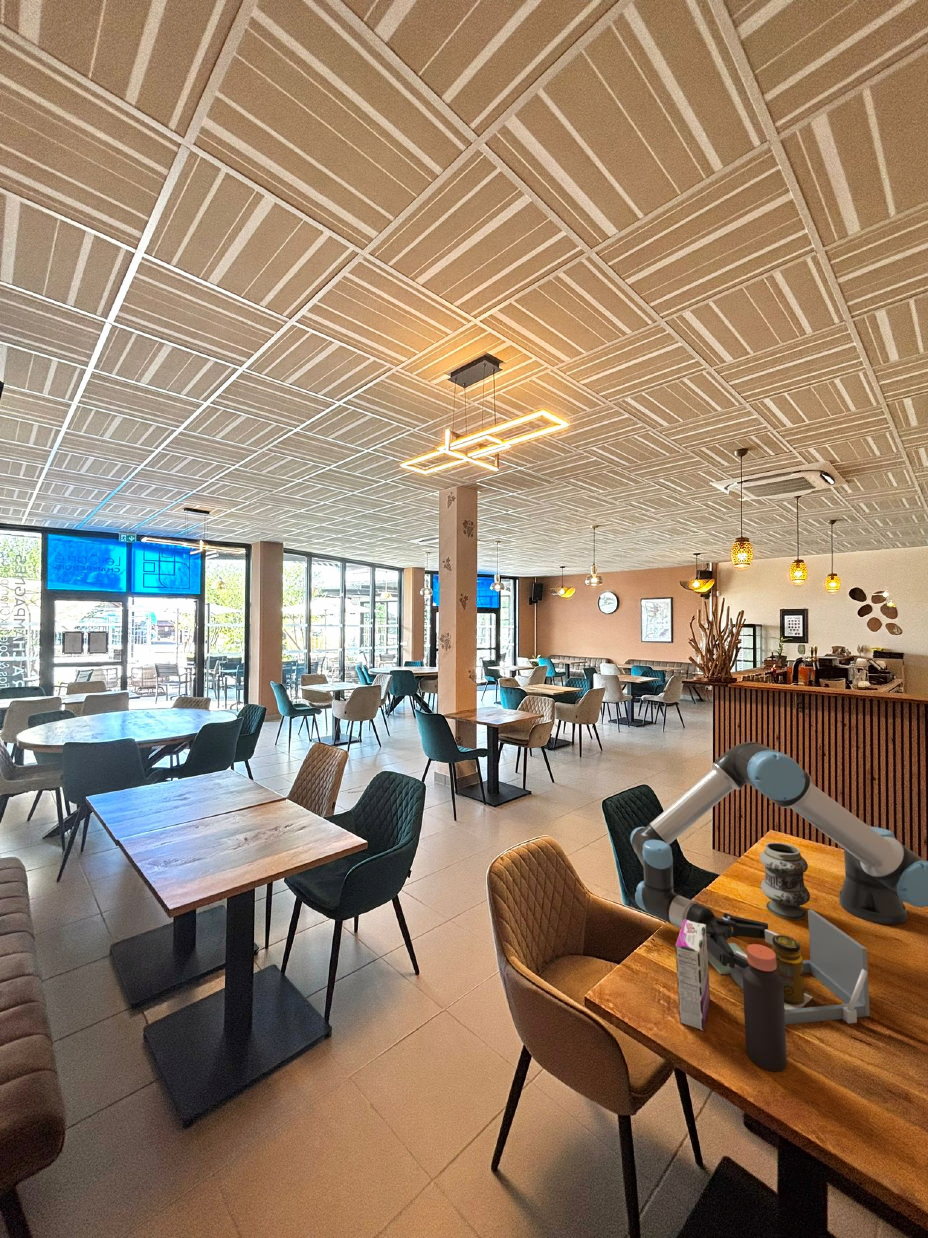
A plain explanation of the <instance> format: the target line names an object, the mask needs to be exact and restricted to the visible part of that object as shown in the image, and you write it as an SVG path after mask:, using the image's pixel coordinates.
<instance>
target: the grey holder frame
mask: <svg viewBox="0 0 928 1238" xmlns="http://www.w3.org/2000/svg"><path fill="white" fill-rule="evenodd" d="M807 917H808V921H807V923H808V939H809V957H810V959H802V960H803V974H807V973H809V974H811V975H812V976H813V977H814V978H816V979H817V980H818V981H819V982H820V983H821V984H822V985H824V987H826V988H827V989H828V990H829V991H830V992H831V993H833V994H834V995H835V996H836V997H837V998H838V999H839V1000H841V1001H842V1003H843V1004H831V1005H821V1006H811V1007H810V1006H809V1007H802V1008H799V1009H789V1010H786V1009H784V1012H785V1026H787V1025H793V1024H795V1025H796V1024H804V1023H814V1022H823V1021H835V1020H843V1021H844V1022H846V1023H847V1024H857V1023H858V1018H862V1017H870V1016H871V1011H870V1009H871V1008H870V995H869V992H870V991H869V971H868V953H867V950H868V949H867V947H865V946H864V945H862V944H861V943H859V942H858V941H856V939H854V938H852V937H851V936H850V935H848V934H847V933H845V931H843V930H841V929H840V928H838V926H836V925H834V924H833V923H831V922H830V921H828V920H827V919H826V918H825V917H823V916H821V915H820V914H819V913H817V912H816V911H814V910H813V909H807ZM743 971H744V969H743V968H741V967H740V966H737V967H735V968H731V974H730V977H731V978H732V979H733V981H734V982H735V983H736V984H737V985H738V986H739V987H740V988H741V990H743V975H742V973H743Z"/></svg>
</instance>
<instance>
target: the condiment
mask: <svg viewBox="0 0 928 1238" xmlns="http://www.w3.org/2000/svg"><path fill="white" fill-rule="evenodd" d="M772 942H773V944H772V945H771V948H770V949H771V950H772V951H774V953H775V954H776V965H777V967H776V972H775V973H776V974H777V975H778V976H779V977H780V979H781V980H782V983H783V991H784V1010H789V1009H799V1008H804V1006H806V1005H807V1003H809V1002H810V1001H811V1000H812V998H813V996H812V995H809V994H807V993H805V985H804V984H805V983H804V973H803V960H804V959H803V956H802V953H801V945H800V943H799V941H797V940H796V939H794V938H793V937H790V936H789V935H785V934H778V935H776V936H774V937H773V939H772Z"/></svg>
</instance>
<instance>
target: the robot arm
mask: <svg viewBox="0 0 928 1238" xmlns="http://www.w3.org/2000/svg"><path fill="white" fill-rule="evenodd" d="M711 764H712V768H711V769H710V770H709V771H708V772H707V773H705V775H703V776H702V777H701V778H700V779H699V780H698V781H696V782H695V783H694V784H693V785H692V786H691V787H690V788H689V789H687V790H686V791H685V792H684V793H683V794H682V795H681V796H680V797H678V798H677V799H676V800H675V801H674V802H673V803H672V804H670V805H669V806H668V807H667V808H666V809H665V810H664V811H663V812H662V813H660V814H659V815H658V816H657V817H655V819H653V820H652V821H651V822H650V823H649V824H647V826H639V827H636V828H635V829H633V830H632V831H631V834H630V837H629V838H630V840H629V841H630V843H631V846H632V849H633V851H634V853H635V854H636V856H637V858H638V860H639V861H640V864H641V866H642V868H643V880H642V881H640V882H639V883H638V884H637V887H636V892H635V894H634V897H635V898H634V900H635V903H636V904H637V906H638V907H639V908H640V909H642V910H644V911H645V912H646V913H648V914H649V915H650V916H654V917H657V918H658V919H660V920H662V921H664V922H667V923H668V924H670V925H673V926H674V927H677V928H679V929H680V930H681V927H682V923H683V920H684V919H685V920H690V921H694V922H697V923H701V924H705V925H706V937H707V950H708V951H709V952H710V953H711V954H712V955H713V956H714V957H715V958H716V959H717V960H718V961H719V962H720V963H721V964H722V965H723V966H727V964H728V963H729V967H731V968H735V964H736V965H738V966H740V967H741V968H743V969H745V968H746V967H748V966H749V964H748V961H747V954H746V953H745V954H746V955H745V954H743V953H741V952H739V951H736V952H735V954H734V952H733V950H732V949H731V947H730V946H729V944H728V941H727V940H728V939H731V938H733V939H735V938H737V937H745V938H752V939H753V938H755V939H759V940H760V939H762V940H764V942H766V943H767V944H769V945H771V946H772V944H773V942H772V939H773V937H774V936H776V935H779V934H778V933H776V932H773V931H771V930H769V924H768V923H767V922H764V921H759V920H754V919H749V918H745V917H740V916H737V915H733V914H731V913H730V914H729V913H727V912H723V913H722V915H723V916H722V918H721V917H719V916H718V917H717V916H715V914H714V912H713V911H712V910H711V909H710V908H708V907H707V906H705V905H702V904H701V903H697V902H695V901H693V900H692V899H689V898H687V897H684V896H682V895H679V894H677V893H676V892H674V874H673V873H674V870H673V869H674V868H673V867H674V865H673V864H674V857H673V851H672V847H671V845H670V844H672V843H673V842H674V841H675V840H676V839H678V837H680V836H681V835H682V834H684V832H686V831H687V830H688V829H690V827H691V826H693V825H694V824H696V822H697V821H699V819H701V818H702V817H703V816H704V815H706V814H707V813H708V812H709V811H711V810H712V808H713V807H714V806H716V805H717V804H719V802H721V801H722V800H723V799H724V798H725V797H726V796H727V795H729V794H730V793H731V792H732V791H734V790H738V791H740V790H741V789H742V788H743V787H744V786H745V785H749V786H750V787H753V788H754V789H755V790H757V791H758V792H760V794H762V795H763V796H765V797H766V798H767V799H769V800H770V801H771V802H773V803H774V804H776V805H777V807H780V808H782V809H783V808H785V809H787V808H790V809H792V811H794V812H795V813H797V815H798V816H799V815H800V816H801V817H802V818H803V819H804V820H805V821H807V822H808V823H810V824H811V825H812V826H814V827H815V828H816V829H818V830H819V831H820V832H821V833H823V834H824V835H826V836H827V837H828V838H830V840H832V841H833V842H834V843H836V844H837V845H839V846H840V847H841V848H842V849H843V852H844V854H843V855H844V857H843V858H844V870H845V871H844V872H845V874H844V875H845V876H844V880H843V882H842V883H843V884H842V886H841V887H842V888H841V890H840V891H839V895H838V898H839V899H838V901H839V904H840V906H841V907H842V909H844V910H845V911H847V912H848V913H850V914H852V915H853V916H856V917H858V918H860V919H863V920H866V921H870V922H873V923H879V924H883V925H885V924H886V925H901V924H904V923H905V922H907V920H908V912H907V907H906V906H905V904H904V903H907V904H908V905H911V906H913V907H916V908H926V907H928V860H926V859H923V858H922V857H921V856H920V855H918V854H916V852H913V851H912V850H911V849H910V848H908V847H907V846H906V845H904V844H903V843H902V842H900V841H899V840H898V839H896V837H895V834H894V833H893V831H891V830H889V829H885V828H881V827H876V826H870V825H868V824H867V823H865V822H864V821H862V820H861V819H860V818H859V817H857V816H856V815H854V814H853V813H852V812H850V811H849V810H847V809H846V808H845V807H843V806H842V805H841V804H840V803H838V802H837V801H836V800H834V799H833V798H832V797H831V796H829V795H828V794H827V793H825V792H824V791H822V790H821V789H820V788H819V787H817V786H816V785H814V784H813V783H812V777H811V775H810V774H809V773H808V772H806V771H805V770H804V769H803V768H802V767H801V766H800V765H799V763H798V762H796V761H795V759H793V758H792V757H791V756H789V755H787V754H786V753H783V752H781V751H777V750H775V749H773V748H770V747H769V746H766V745H764V744H763V743H760V742H756V741H746V742H745V741H744V742H741V743H738V744H736V745H734V746H733V747H731V748H730V749H728V750H727V751H726V752H724V753H723V754H722V755H720V756H719V757H718V758H717V759H716V760H715V761H714V762H712V763H711Z"/></svg>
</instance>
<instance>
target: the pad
mask: <svg viewBox="0 0 928 1238" xmlns="http://www.w3.org/2000/svg"><path fill="white" fill-rule="evenodd" d="M727 943H728V942H727ZM728 944H729V946H730V947H731V949H732V950H733V952H734V954H735V952H736V951H739V952H741V953H743V954H745V955H747V953H745V952H744V951H743V950H742V949H741V948H740V947H739V946H738V945H737V943H735V942H729V943H728ZM707 955H708V963H710V964H711V965H712V967H713V968H714V969H715V970H716V971H717V972H718V973H719V975H729V974H730V975H731V967H729V963H728V964H727V966H723V965H722V964H721V963H720V962H719V961H718V960H717V959H716V958H715V957H714V956H713V955H712V954H711V953H710V952H709V951H708V950H707ZM737 966H738V965H736V964H735V967H737Z"/></svg>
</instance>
